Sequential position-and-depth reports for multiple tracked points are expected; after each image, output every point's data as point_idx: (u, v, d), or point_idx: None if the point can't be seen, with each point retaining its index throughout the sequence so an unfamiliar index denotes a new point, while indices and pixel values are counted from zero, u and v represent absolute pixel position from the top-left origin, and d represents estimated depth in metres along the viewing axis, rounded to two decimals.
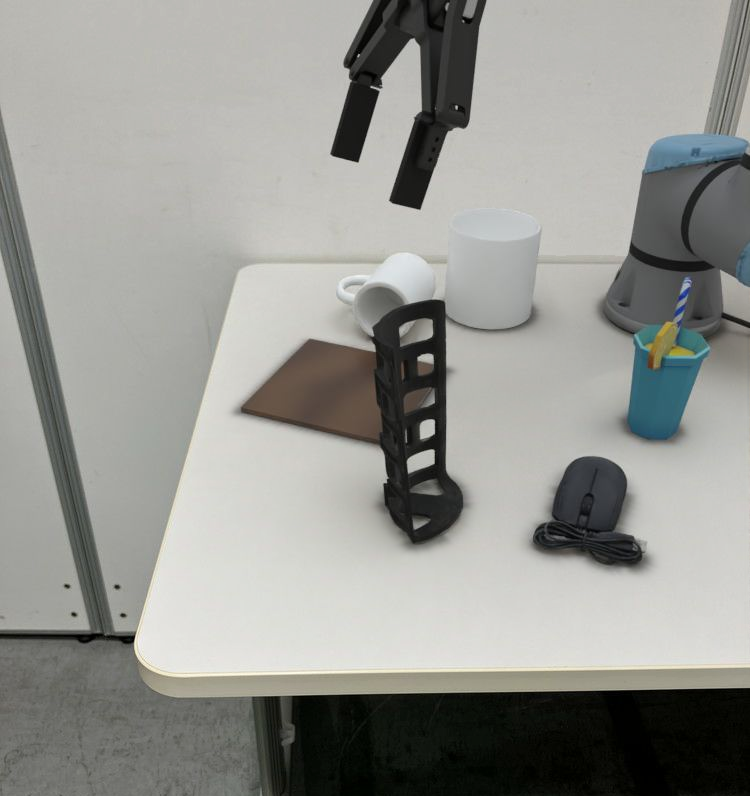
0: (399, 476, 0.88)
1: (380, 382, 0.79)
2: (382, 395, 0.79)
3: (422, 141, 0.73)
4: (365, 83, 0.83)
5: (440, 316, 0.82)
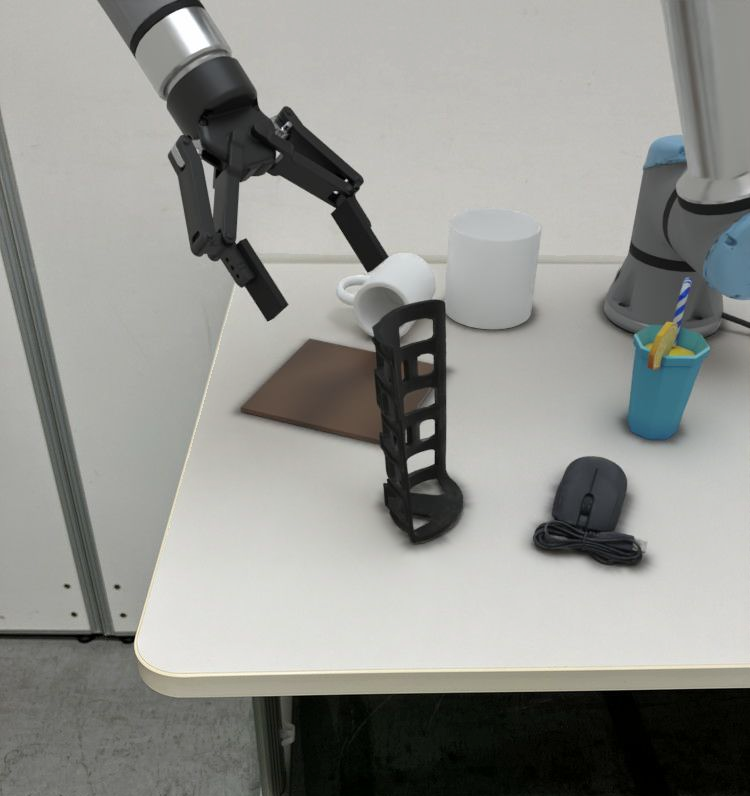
0: (399, 476, 0.88)
1: (380, 382, 0.79)
2: (382, 395, 0.79)
3: None
4: (342, 201, 0.86)
5: (440, 316, 0.82)
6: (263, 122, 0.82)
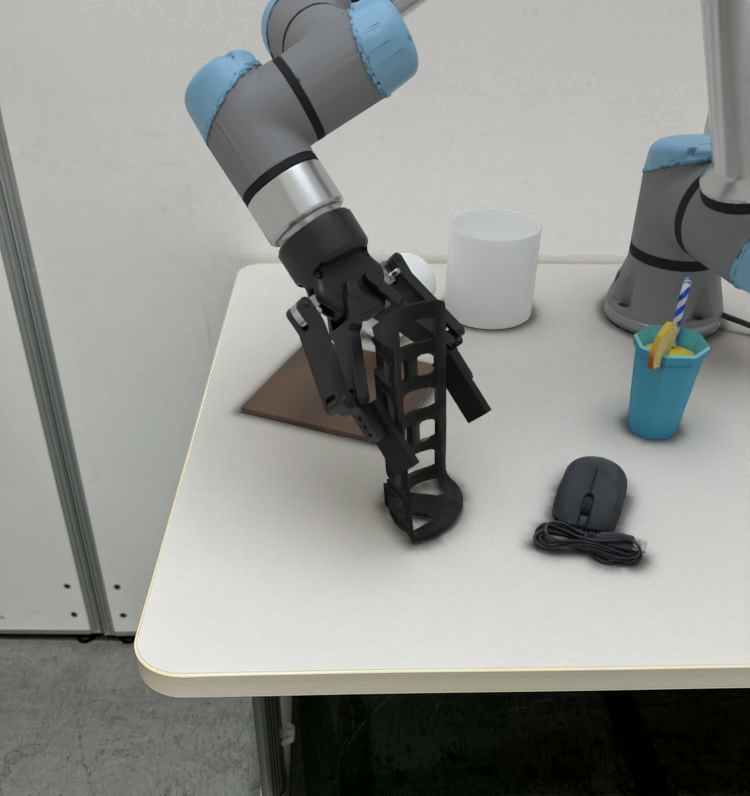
0: (399, 476, 0.88)
1: (380, 382, 0.79)
2: (382, 395, 0.79)
3: None
4: None
5: (440, 316, 0.82)
6: (373, 267, 0.82)
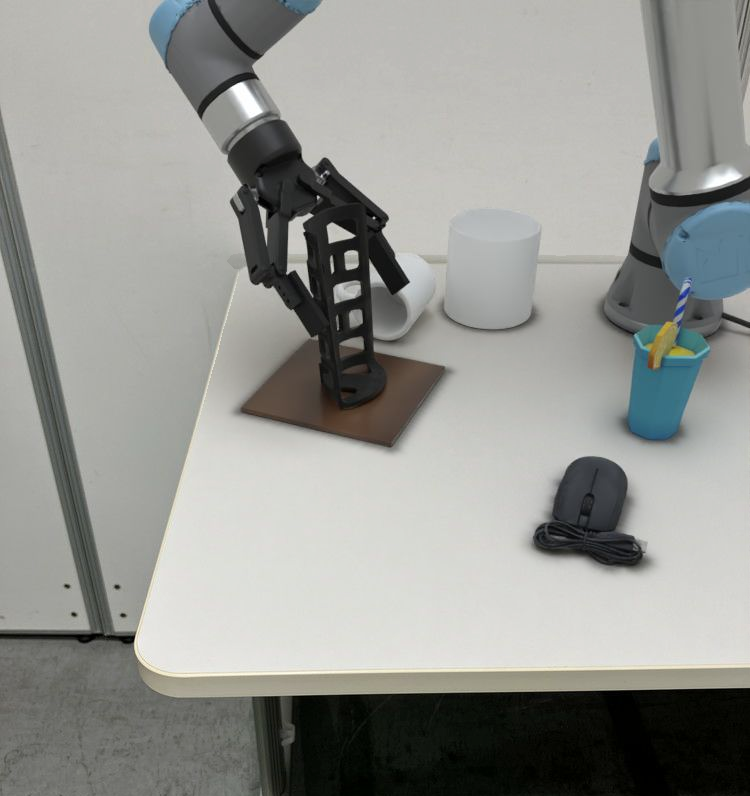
0: None
1: (310, 269, 0.97)
2: (312, 279, 0.96)
3: None
4: (371, 236, 1.03)
5: (361, 217, 0.99)
6: (306, 172, 0.99)
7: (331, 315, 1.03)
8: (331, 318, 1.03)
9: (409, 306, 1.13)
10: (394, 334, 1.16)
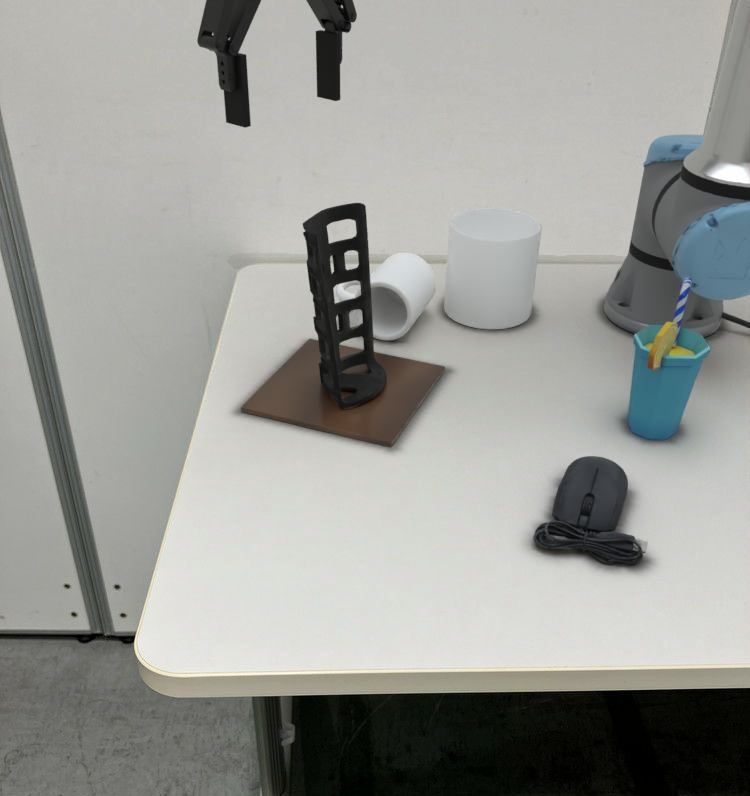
0: None
1: (310, 269, 0.97)
2: (311, 279, 0.96)
3: None
4: (330, 29, 0.96)
5: (361, 217, 0.99)
6: None
7: (331, 315, 1.03)
8: (331, 318, 1.03)
9: (409, 306, 1.13)
10: (394, 334, 1.16)
